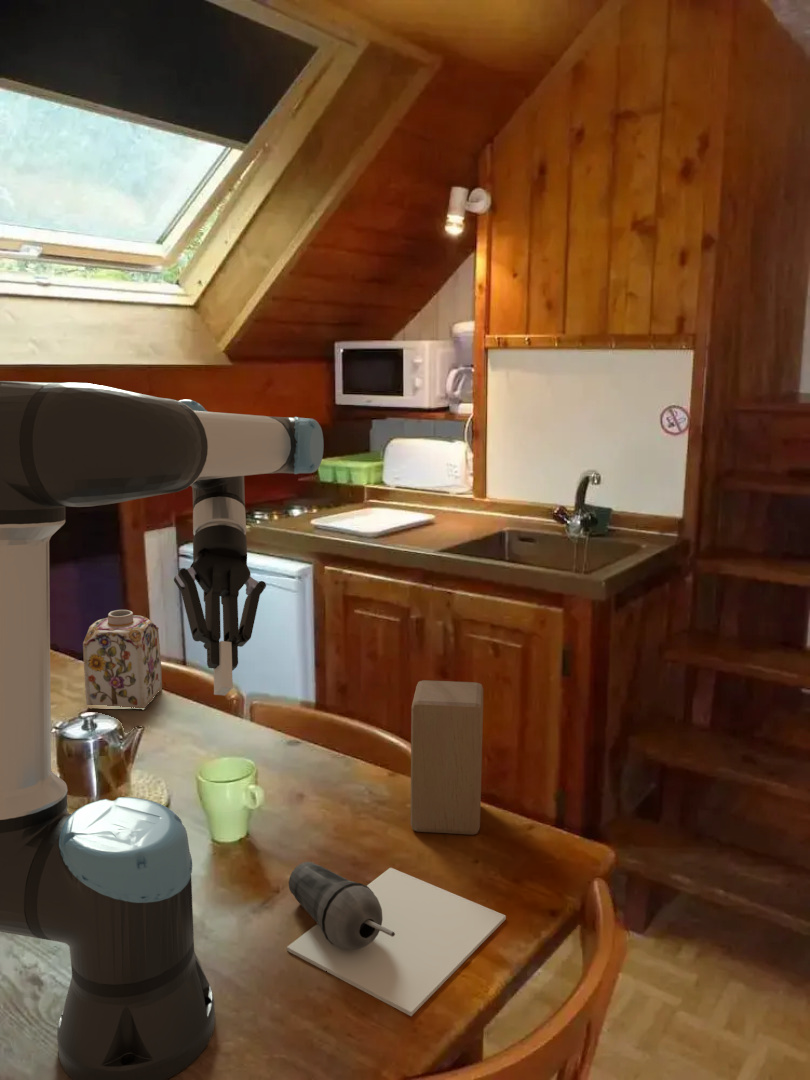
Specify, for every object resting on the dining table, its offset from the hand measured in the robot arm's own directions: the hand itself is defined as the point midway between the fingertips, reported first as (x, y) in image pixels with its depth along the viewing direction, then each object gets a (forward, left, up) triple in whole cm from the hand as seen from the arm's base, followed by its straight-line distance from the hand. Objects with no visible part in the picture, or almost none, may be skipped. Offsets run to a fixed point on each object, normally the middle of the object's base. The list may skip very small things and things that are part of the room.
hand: (223, 691), depth 114 cm
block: (+27, -18, -25) cm, 40 cm away
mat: (+1, -28, -24) cm, 37 cm away
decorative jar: (+28, +59, -25) cm, 70 cm away
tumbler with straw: (0, -14, -22) cm, 26 cm away
